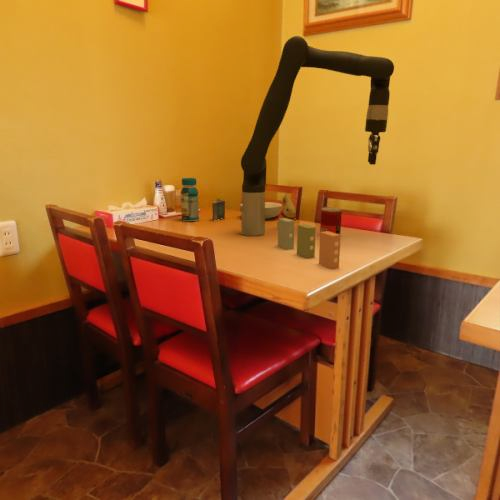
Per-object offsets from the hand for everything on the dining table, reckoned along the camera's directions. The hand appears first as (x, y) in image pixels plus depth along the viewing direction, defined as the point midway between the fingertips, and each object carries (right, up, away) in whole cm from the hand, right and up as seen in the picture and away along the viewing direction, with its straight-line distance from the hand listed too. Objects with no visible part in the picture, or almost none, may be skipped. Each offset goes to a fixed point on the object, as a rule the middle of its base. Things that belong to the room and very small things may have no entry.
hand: (371, 163), depth 156 cm
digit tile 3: (-22, -38, -30) cm, 53 cm away
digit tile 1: (-33, -32, -9) cm, 47 cm away
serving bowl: (-41, -17, +48) cm, 66 cm away
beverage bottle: (-75, -19, +41) cm, 87 cm away
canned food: (-14, -27, +10) cm, 32 cm away
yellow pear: (-29, -24, +23) cm, 44 cm away
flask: (-61, -18, +44) cm, 78 cm away
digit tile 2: (-28, -35, -20) cm, 49 cm away
